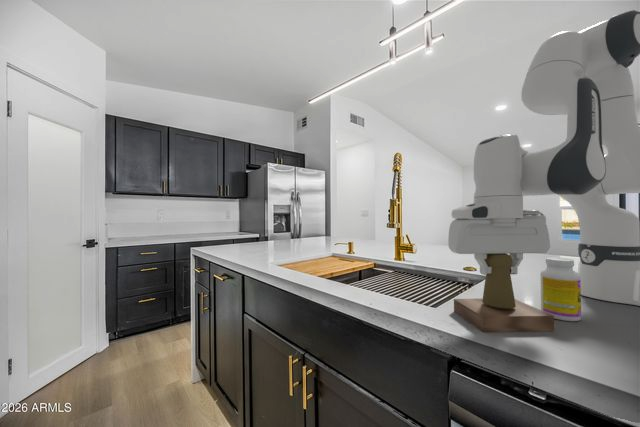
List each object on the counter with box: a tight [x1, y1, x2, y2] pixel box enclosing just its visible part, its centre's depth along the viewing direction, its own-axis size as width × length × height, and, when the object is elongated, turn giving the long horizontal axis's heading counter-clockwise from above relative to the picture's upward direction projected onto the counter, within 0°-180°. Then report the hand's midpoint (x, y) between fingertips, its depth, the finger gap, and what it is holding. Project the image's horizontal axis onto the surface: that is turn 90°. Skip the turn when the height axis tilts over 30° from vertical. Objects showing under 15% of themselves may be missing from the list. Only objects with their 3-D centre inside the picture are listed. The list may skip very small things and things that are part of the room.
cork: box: [482, 254, 516, 308], centre depth 57 cm, size 6×6×11 cm
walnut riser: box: [453, 298, 555, 333], centre depth 57 cm, size 14×11×3 cm
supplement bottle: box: [540, 257, 582, 322], centre depth 59 cm, size 7×7×13 cm
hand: (498, 274), depth 57 cm, fingers closed on cork, 4 cm apart
